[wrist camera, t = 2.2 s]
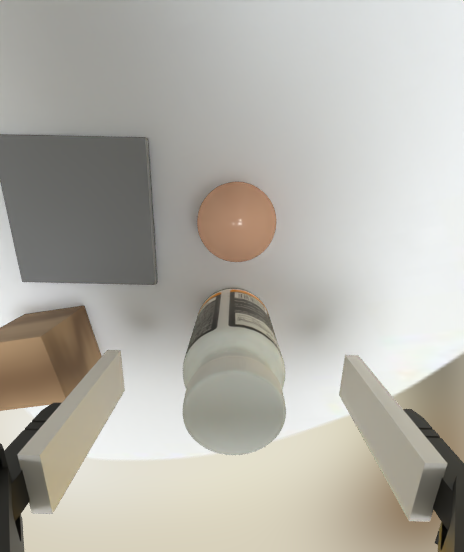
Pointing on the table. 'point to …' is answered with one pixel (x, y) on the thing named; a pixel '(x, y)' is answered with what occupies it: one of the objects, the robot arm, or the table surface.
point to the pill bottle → (233, 376)
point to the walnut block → (45, 357)
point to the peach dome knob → (236, 221)
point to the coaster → (80, 208)
